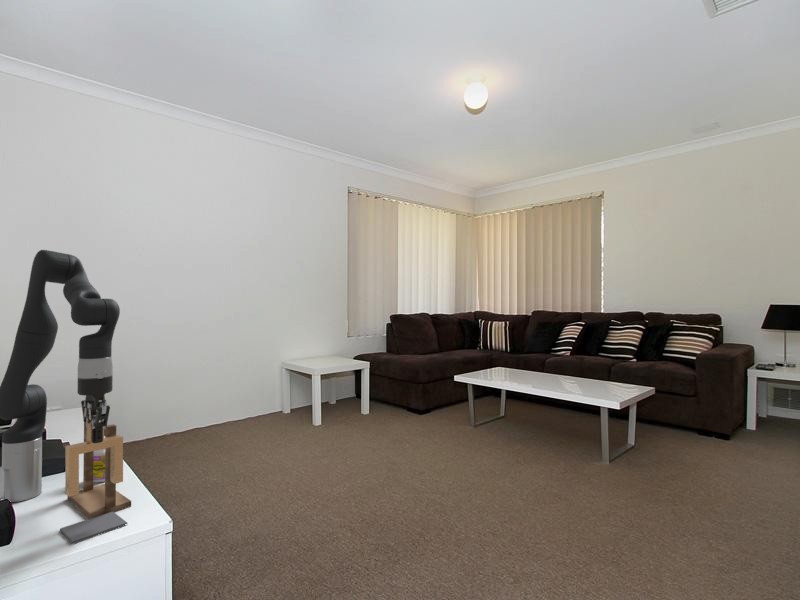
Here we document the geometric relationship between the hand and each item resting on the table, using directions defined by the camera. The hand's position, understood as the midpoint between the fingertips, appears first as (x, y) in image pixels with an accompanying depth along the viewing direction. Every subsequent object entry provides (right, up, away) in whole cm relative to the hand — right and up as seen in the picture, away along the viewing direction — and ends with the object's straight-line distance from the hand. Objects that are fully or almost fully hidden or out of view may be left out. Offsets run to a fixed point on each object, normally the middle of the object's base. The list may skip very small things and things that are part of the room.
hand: (95, 440), depth 115 cm
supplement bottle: (-19, -23, +32) cm, 44 cm away
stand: (-9, -23, +14) cm, 28 cm away
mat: (0, -22, 0) cm, 22 cm away
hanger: (0, -12, 0) cm, 12 cm away
